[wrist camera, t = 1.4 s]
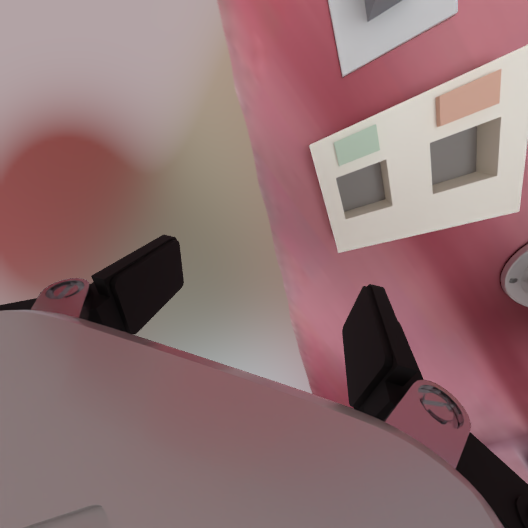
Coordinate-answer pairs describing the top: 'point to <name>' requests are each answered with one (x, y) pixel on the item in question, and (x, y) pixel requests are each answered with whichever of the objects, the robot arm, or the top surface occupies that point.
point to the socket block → (430, 158)
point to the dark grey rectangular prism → (378, 7)
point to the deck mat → (381, 28)
